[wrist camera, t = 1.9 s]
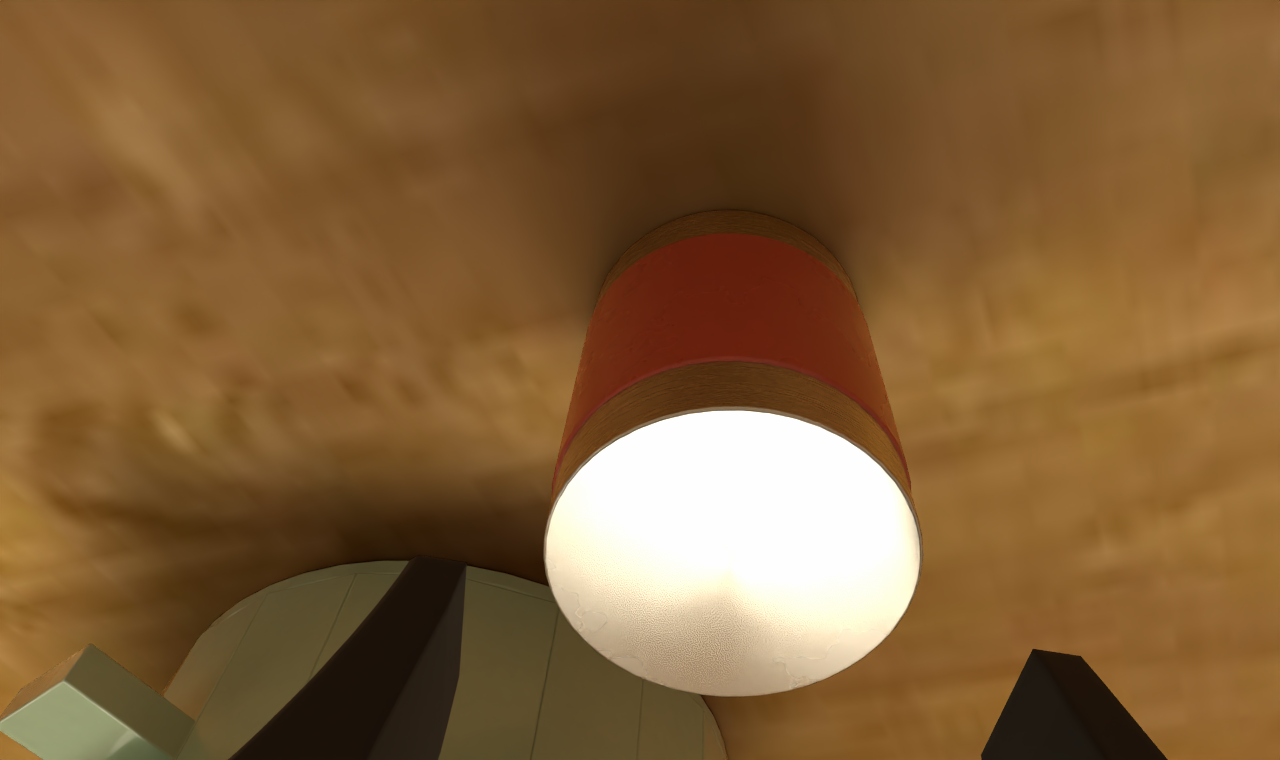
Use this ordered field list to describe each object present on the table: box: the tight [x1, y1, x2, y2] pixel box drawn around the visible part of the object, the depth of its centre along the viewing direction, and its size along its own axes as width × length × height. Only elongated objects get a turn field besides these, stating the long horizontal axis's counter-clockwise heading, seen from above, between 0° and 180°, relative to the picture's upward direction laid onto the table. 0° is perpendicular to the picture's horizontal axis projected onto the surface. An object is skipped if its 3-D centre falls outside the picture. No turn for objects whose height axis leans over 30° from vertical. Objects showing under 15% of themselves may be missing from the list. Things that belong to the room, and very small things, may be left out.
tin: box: [543, 210, 923, 697], centre depth 17 cm, size 6×6×7 cm
